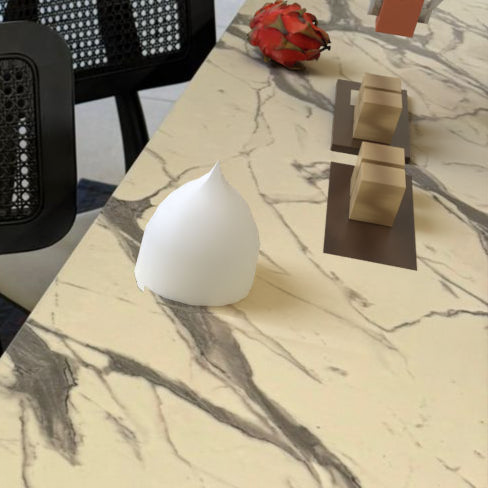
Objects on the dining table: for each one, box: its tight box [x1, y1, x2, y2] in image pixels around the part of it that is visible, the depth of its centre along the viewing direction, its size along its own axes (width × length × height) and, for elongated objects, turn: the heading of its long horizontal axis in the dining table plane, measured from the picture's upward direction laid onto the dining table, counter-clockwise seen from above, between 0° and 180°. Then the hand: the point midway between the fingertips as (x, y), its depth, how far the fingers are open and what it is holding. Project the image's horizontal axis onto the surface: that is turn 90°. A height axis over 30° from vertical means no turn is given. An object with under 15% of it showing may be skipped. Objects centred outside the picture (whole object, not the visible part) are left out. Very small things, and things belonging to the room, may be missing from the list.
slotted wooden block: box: [330, 72, 412, 165], centre depth 126 cm, size 9×22×5 cm, turn 165°
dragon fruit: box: [246, 0, 332, 71], centre depth 138 cm, size 8×8×12 cm
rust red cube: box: [374, 0, 425, 38], centre depth 123 cm, size 4×4×4 cm
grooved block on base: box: [322, 142, 418, 272], centre depth 106 cm, size 9×22×5 cm, turn 165°
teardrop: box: [133, 159, 261, 315], centre depth 91 cm, size 11×11×12 cm
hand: (396, 18), depth 124 cm, fingers closed on rust red cube, 4 cm apart
